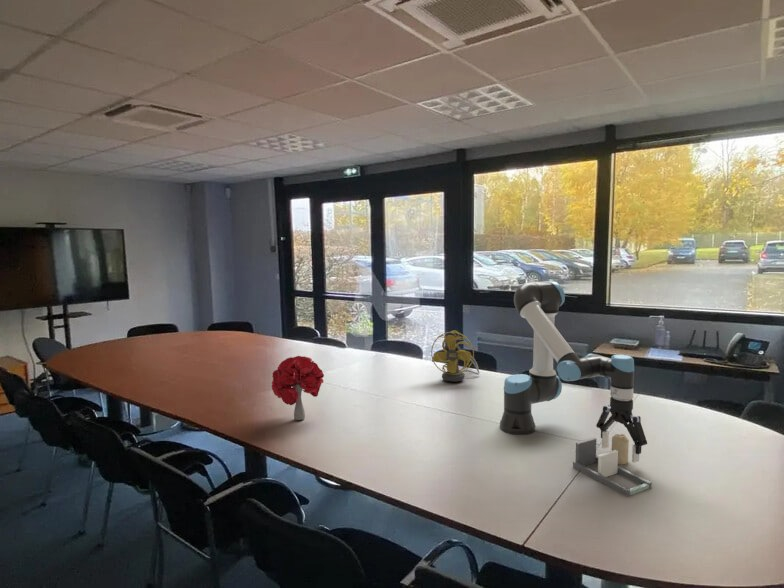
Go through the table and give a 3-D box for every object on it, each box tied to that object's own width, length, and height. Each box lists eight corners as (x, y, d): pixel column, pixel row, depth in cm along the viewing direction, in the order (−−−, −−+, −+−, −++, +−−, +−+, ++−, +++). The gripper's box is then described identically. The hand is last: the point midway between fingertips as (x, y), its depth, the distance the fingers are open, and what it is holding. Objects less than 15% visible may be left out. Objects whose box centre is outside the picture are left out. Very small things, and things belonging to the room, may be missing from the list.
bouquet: (299, 430, 202) (296, 365, 198) (263, 420, 214) (260, 358, 211) (331, 415, 220) (329, 354, 216) (296, 406, 232) (293, 349, 229)
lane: (572, 467, 164) (573, 443, 163) (595, 460, 168) (596, 436, 167) (627, 496, 144) (628, 469, 143) (651, 488, 149) (652, 461, 148)
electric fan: (429, 381, 271) (429, 331, 268) (442, 367, 301) (441, 322, 298) (473, 384, 262) (473, 333, 259) (481, 369, 292) (481, 324, 289)
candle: (622, 457, 170) (623, 431, 169) (631, 464, 165) (631, 437, 164) (608, 457, 170) (609, 432, 169) (616, 464, 165) (616, 438, 164)
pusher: (597, 477, 156) (598, 455, 155) (614, 471, 159) (615, 449, 158) (600, 478, 155) (601, 456, 154) (617, 473, 158) (618, 451, 157)
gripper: (587, 390, 174) (585, 443, 177) (645, 409, 152) (643, 470, 155) (600, 387, 177) (599, 439, 180) (660, 406, 156) (657, 466, 158)
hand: (619, 454), depth 167 cm, fingers open, 12 cm apart
